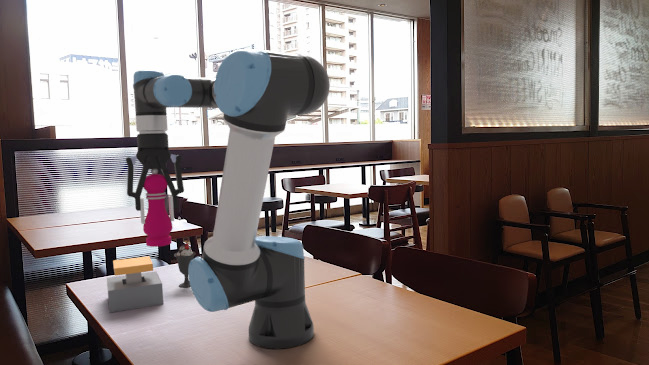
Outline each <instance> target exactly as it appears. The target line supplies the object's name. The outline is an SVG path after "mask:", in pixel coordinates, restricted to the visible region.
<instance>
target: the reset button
mask: <svg viewBox="0 0 649 365" xmlns="http://www.w3.org/2000/svg"><path fill="white" fill-rule="evenodd" d="M112 264H113V272H114V277H117V276H125V275H126V284H132V283H140V282H142V277H141V273H148V272H154V263H153V261H152V259H151V257H150V256H149V255H148V256H147V255H146V256H140V257H132V258H123V259H115V260H112Z"/></svg>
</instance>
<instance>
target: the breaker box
mask: <svg viewBox="0 0 649 365" xmlns="http://www.w3.org/2000/svg"><path fill="white" fill-rule="evenodd" d="M141 277H142V282H140V283H132V284H126V274H124V275H116V276H111V277H106V285H107V286H106V288H107V298H108V299H107V300H108V310H109V313H116V312H121V311H127V310H134V309H140V308H146V307H152V306H159V305H164V294H163V291H164V289H163V282H162V280H161V278H160V276H159V273H158V271H147V272H141Z"/></svg>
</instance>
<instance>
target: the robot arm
mask: <svg viewBox="0 0 649 365" xmlns="http://www.w3.org/2000/svg"><path fill="white" fill-rule="evenodd" d="M330 86H331V85H330V77H329V74H328V73H327V70H326V69H325V67H324V66H323V65H322V64H321V62H320V61H318V60H317V59H315V58H314V57H311V56H309V55H305V54H302V53H289V52H280V51H274V50H267V49H266V50H264V49H260V48H251V49H250V48H249V49H248V48H247V49H246V48H245V49H243V48H242V49H241V48H239V49H236V50H234V51H232V52H230V53H229V54H228V56H225V57H224V59H223V60H222V62H221V63H220V65H219V66H218V69H217V72H216V75H215V77H198V76H185V75H184V76H183V75H181V74H177V73H167V74H164V73H163V72H162V71H159V70H150V69H146V70H137V71H135V72H134V74H133V84H132V88H133V96H134V109H135V125H136V126H135V127H136V129H135V130H136V131H137V132H138V134H137V135H136V142H137V153H135V155H133V156H130V157H129V156H127V157H126V158H125V162H126V165H127V180H126V182H127V183H126V185H127V186H126V187H127V188H126V195H127V196H128V197H130V198H134V205H135V210H136V211H137V212H139V211H140V223H141V225H144V224H145V218H146V216H145V202H144V201H145V199H144V197H141V196H142V192H143V189H144V187H143V186H144V183H145V179H146V177H147V176H148V172H149V170H151V169H154V168H156V169H158V170H160V171H161V173H162V175H163V176H164V177H165V178H166V181H167V188H168V189H169V191H170V194H171V195H168V196H167V197H168V208H169V209H168V210H169V212H168V213H169V214H168V215H169V217H170V219H171V222H174V221H175V213H174V209H175V208H178V196H179V195H180V194H182V193H184V192H185V189H184V187H185V186H184V182H183V181H184V180H183V176H182V175H183V174H182V169H181V161H182V156H181V155H179V154H177V155H176V154H172V153H171V152H170V150H169V135H168V134H167V133H166V132H167V131H168V130H169V129H168V117H167V115H168V114H167V108H187V109H188V108H189V109H190V108H192V109H193V108H195V109H198V108H199V109H200V108H203V109H204V108H206V109H209V108H210V109H218V110H219V111H220V112H221V113H223V116H222V119H223V121H224V122H225V123H226V125H227V126H228V128H229V133H228V138H227V139H228V140H227V145H226V150H225V151H226V152H225V158H224V163H223V164H224V165H223V170H222V178H221V184H220V189H219V196H218V202H217V207H216V215H215V223H214V227H213V233H212V234H213V235H212V236H211V237H209V238H207V240H206V241H204V245H203V249H202V250H203V251H202V255H201V256H196V257H194V259H193V260H191V262H190V264H189V268H188V279H189V282H190V286H191V287H190V289H191V292H192V294H193V296H194V298H195V300H196V301H197V302H198V304H199V305H200V306H201V307H202V309H204V310H206V311H207V312H210V313H214V312H221V311H227V310H229V309H231V308H234V307H237V306H241V305H244V304H249V303H251V302H254V308H253V311H252V315H251V319H250V321H249V325H248V340H249V341H250V343H251V344H252V345H255V346H257V347H261V348H265V349H287V348H289V349H290V348H293V347H297V346H301V345H304V344H305V343H307V342H309V341H310V340H312V339H313V337H314V336H315V335H314V334H315V330H314V329H315V328H314V322H313V318H312V317H311V313H310V311H309V308H308V306H307V303H306V287H305V286H306V280H305V279H306V278H305V260H306V257H305V255H304V254H305V253H304V252H305V251H304V245H303V243H302V242H301V241H300V240H298V239H296V238H292V237H286V236H285V237H284V236H274V235H273V236H272V235H271V236H269V235H267V236H265V235H264V236H257V233H258V227H259V224H260V217H261V212H262V208H263V207H262V206H263V202H264V196H265V192H266V187H267V181H268V176H269V171H270V167H271V166H270V165H271V161H272V160H271V159H272V157H273V156H272V155H273V150H274V145H275V140H276V138H277V136H278V135H280V134H282V133H283V132H285V129H286V124H287V120H288V116H305V115H310V114H312V113H314V112H316V111H317V110H319V109H320V108H321V107H323V105H324V104H325V102H326V101H327V99H328V96H329V94H330ZM170 159H171V162H172V163H173V166H174V174H175V180H176V187H177V188H176V187H175V185H174V183H173V180H172V178H171V175H170V173H169V170H168V168H167V166H166V165H167V163H168V162H169V160H170ZM137 161H139V163H140V164H141V165H142V168H141V172H140V176H139V179H138V183H137V186H136V189H135V191H134V170H135V169H134V166H135V165H136V163H137Z"/></svg>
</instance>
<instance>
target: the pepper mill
mask: <svg viewBox="0 0 649 365" xmlns="http://www.w3.org/2000/svg"><path fill="white" fill-rule="evenodd" d="M150 173H151V174H149V175H148V174H147V176H146V179H145V183H144V186H143V189H144V190H145V191H146V193H145V199H146V200H147V204H148V205H147V206H148V207H147V212H146V213H147V214H146V216H145V224H142V225H143V228H142V230H143V232H144V234H145V235H146V236H147V237H146V239H145V242H146V243H145V244H146V246H147V247H150V248H151V247H153V248H155V247H156V248H157V247H165V246H169V245H171V244H172V236H171V235H170V233H171V232H172V231H173V223H172V222H173V221H171V219H170V215H169V214H168V213H169V212H167V208H166V202H165V200H166V198H167V195H166V194H167V192H166V190H167V188H168V185H167V181H166V178H165V177H164V175H163V174H160V173H159V169H156V168H154V169H150Z"/></svg>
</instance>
